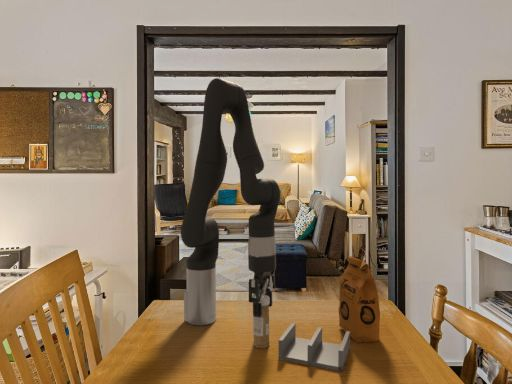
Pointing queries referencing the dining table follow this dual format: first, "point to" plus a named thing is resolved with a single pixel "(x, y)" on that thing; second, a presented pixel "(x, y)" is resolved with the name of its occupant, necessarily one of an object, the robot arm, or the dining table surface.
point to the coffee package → (359, 302)
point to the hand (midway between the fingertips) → (263, 311)
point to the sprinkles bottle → (262, 325)
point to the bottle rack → (313, 350)
